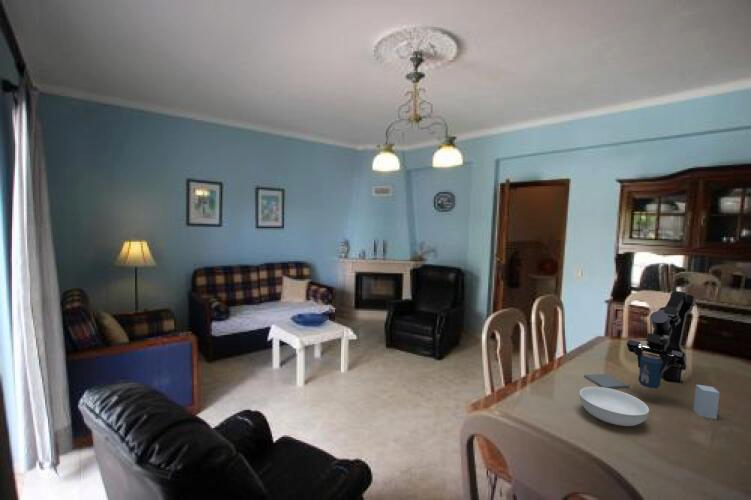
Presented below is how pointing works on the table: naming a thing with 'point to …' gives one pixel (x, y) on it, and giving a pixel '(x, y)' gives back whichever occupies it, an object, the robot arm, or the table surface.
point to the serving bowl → (613, 406)
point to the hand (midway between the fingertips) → (649, 370)
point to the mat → (606, 381)
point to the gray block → (706, 401)
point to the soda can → (650, 371)
